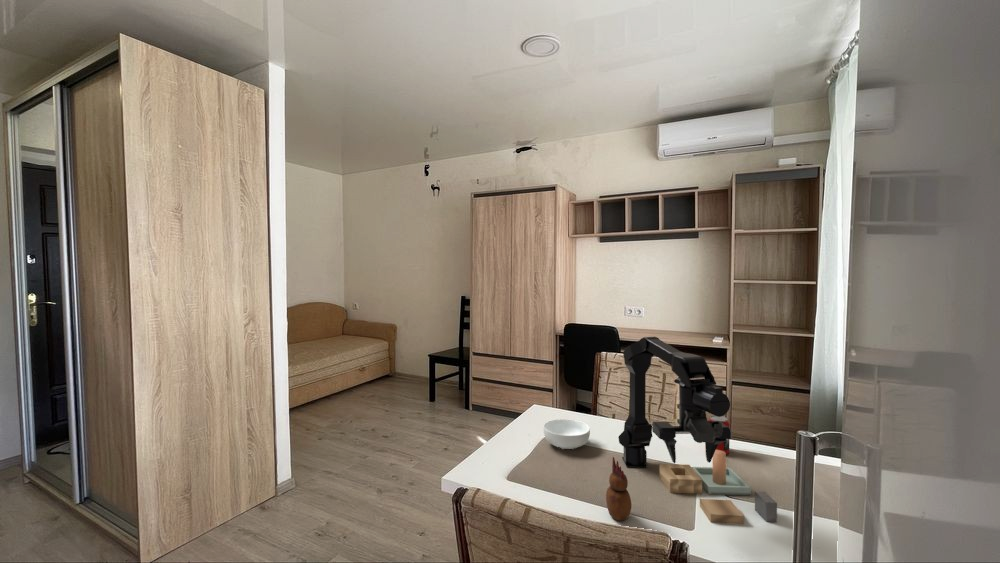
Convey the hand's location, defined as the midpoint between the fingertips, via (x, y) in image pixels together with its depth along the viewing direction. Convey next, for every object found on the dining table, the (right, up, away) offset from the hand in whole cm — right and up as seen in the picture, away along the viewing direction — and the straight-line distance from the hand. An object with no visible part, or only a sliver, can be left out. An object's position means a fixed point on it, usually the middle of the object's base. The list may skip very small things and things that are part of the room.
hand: (691, 462), depth 106 cm
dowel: (+15, -12, +14) cm, 24 cm away
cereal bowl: (-26, -13, +41) cm, 51 cm away
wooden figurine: (-20, -14, -2) cm, 24 cm away
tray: (+15, -13, +14) cm, 24 cm away
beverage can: (+26, -12, +35) cm, 46 cm away
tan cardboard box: (+7, -14, -1) cm, 16 cm away
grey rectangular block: (+18, -13, -2) cm, 23 cm away
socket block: (+3, -13, +14) cm, 19 cm away
